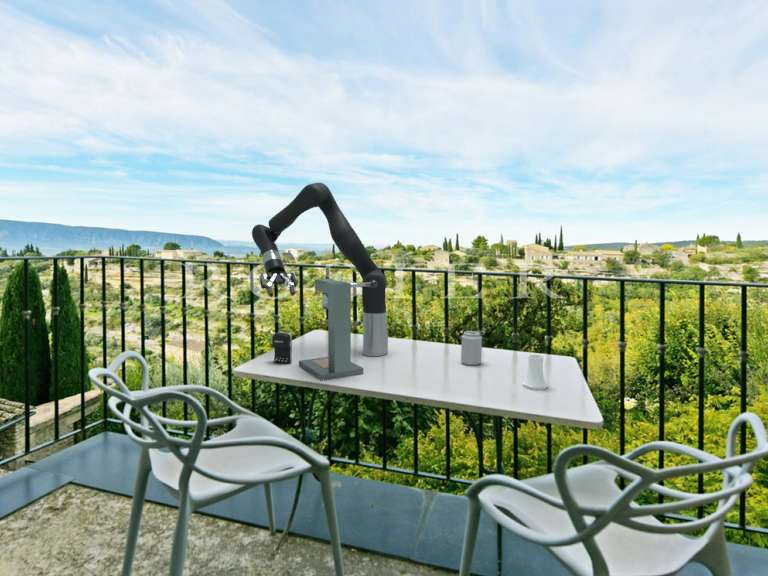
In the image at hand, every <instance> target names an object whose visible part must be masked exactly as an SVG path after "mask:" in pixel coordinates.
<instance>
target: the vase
mask: <svg viewBox="0 0 768 576" xmlns="http://www.w3.org/2000/svg"><path fill="white" fill-rule="evenodd" d="M527 359H528V361H527V362H528V365H527V371H526V375H525V378H524V379H523V381H522V387H523V388H526V389H528V390H532V391H533V390H534V391H543V390H547V388H548V386H547V385H548V384H547V383H546V382H545V381H546V380H545V377H544V373H543V372H544V371H543V363H544V356H543V355H540V354H528V355H527Z"/></svg>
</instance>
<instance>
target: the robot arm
mask: <svg viewBox="0 0 768 576" xmlns="http://www.w3.org/2000/svg"><path fill="white" fill-rule="evenodd" d="M313 208H319V209H320V211H321V212H322V214H323V215H324V217H325V218H326V221H327V224H328V228H329V229H328V230H329V233H330V236H331V240H332V241H333V243H334V244H335V245H336V247H337V249H338V250H339V252H340V253H341V254H342V255H343V256H344V257H345V258H346V259H347V261H349V262H350V263H351V264H352V265H353V266H354V268H355V269H356V270H357V272H358V273H359V275H360V278H361V279H362V281H361V283H363V282H370V281H372V280H375V281H377V284H378V285H377V287H376V288H371V287H361V299H362V300H361V301H362V302H361V303H362V354H363V355H365V356H367V357H382V356H384V355H388V350H389V346H388V345H389V331H388V330H387V303H386V290H387V289H386V288H387V287H388V280H387V277H386V275H385V274H384V273H383V272H382V271H381V269H380V268H379V267H378V266H377V264H376V263H375V262H374V261H373V258H371V257H370V254H369V253H368V251H367V248H366V247H365V245H364V243H363V242H362V241H361V238H360V237H359V236H358V234H357V232H356V231H355V229H354V228H353V227H352V225H351V224H350V222H349V221H348V219H347V217H346V216H345V215H344V212H343V211H342V210H341V209H340V207H339V205H338V203H337V201H336V199H335V198H334V196H333V193H332V191H331V190H330V188H329V187H328V185H326V184H325V183H323V182H314V183H308V184H307V185H305V186H304V187H303V188H302V189H301V190H300V191H299V193H297V195H296V196H295V198H294V199H292V201H291V202H289V203H288V205H286V206H285V207H284V208H283V209H282V210H280V211H279V212H277V213H276V214H275V215H274V216H272V217H271V218H270V219H269V221H268V226H266V225H263V224H256V225H254V227H253V228H252V230H251V237H252V240H253V241H254V243H255V245H256V247H257V249H259V251H260V255H261V258H262V263H263V267H264V270H265V273H263V272H262V273H260V275H259V283H260V288H261V289H262V290H267V295H268V296H269V297H270V298H273V297H274V291H273V288H272V286H273V285H275V286H277V285H283V286H284V287H287V288H288V289H289V292H290V296H291V297H294V295H295V293H296V288H297V285H298V280H297V277H296V275H295V274H294V272H290V273H289V274H288V273H287V272H286V269H285V266H284V262H283V260H282V256H281V255H280V251H279V248H278V246H277V244H276V242H277V240H278V239H279V237H280V236H281V235H282V233H283V232H284V231H285V230H286V229H288V228H289V227H291V225H292V224H294V222H296V220H297V219H298V218H299V217H300V215H302V214H303V213H306V212H307V211H309V210H311V209H313ZM266 279H267V280H268V283H266Z"/></svg>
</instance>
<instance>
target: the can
mask: <svg viewBox="0 0 768 576" xmlns="http://www.w3.org/2000/svg"><path fill="white" fill-rule="evenodd" d="M482 342H483V338H482V336H481V332H478V331H473V330H470V331H469V330H467V331H463V334H462V335H461V348H460V349H461V350H460V362H462V364H463V365H465V366H471V367H472V366H478V365H480V364H481V363H482V345H483V343H482Z"/></svg>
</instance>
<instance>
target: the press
mask: <svg viewBox="0 0 768 576" xmlns="http://www.w3.org/2000/svg"><path fill="white" fill-rule="evenodd" d="M362 282H363V281H362ZM362 282H348V281H347V282H346V281H340V280H336V279H335V280H334V279H332V278H331V279H330V278H315V279H314V290H315V291H316V292H320V293H321V308H322V310H327V311H328V312H327V314H328V315H327V317H328V318H327V320H328V321H327V322H328V323H327V324H328V326H327V327H328V329H327V332H328V334H327V335H328V336H327V337H328V338H327V339H328V340H327V341H328V342H327V343H328V344H327V345H328V347H327V348H328V349H327V353H328V356H322V357H315V358H308V359H302V360H298V367H300V368H301V369H302V370H304V371H306V372H307V373H308V374H311V375H312V376H313V375H314V376H313V377H315V378H316V377H317V378H316V379H318V378H319V379H320V380H319V379H318V380H319V381H321V380H322V381H324V380H323V379H328V380H333V378H334V379H339V377H341V378H346V376H347V377H353V376H358V375H364V367H362V366H360V365H358V364H356V363H354V362H353V361H351V357H352V356H351V353H352V352H351V351H352V350H351V347H352V346H351V344H352V343H351V342H352V341H351V340H352V339H351V338H352V337H351V331H352V330H351V327H352V326H351V325H352V324H351V323H352V321H351V318H352V315H351V314H352V311H351V308H352V307H351V306H352V303H351V302H352V300H351V298H352V297H351V296H352V289H353V288H362V287H371V288H376V287H377V285H378V284H377V281H375V280H372V281H370V282H363V283H362ZM352 375H353V376H352Z"/></svg>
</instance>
